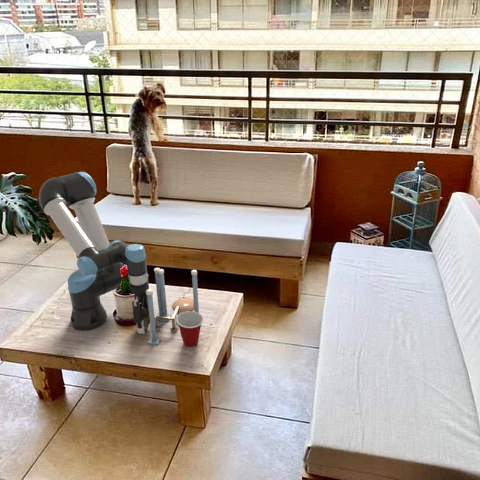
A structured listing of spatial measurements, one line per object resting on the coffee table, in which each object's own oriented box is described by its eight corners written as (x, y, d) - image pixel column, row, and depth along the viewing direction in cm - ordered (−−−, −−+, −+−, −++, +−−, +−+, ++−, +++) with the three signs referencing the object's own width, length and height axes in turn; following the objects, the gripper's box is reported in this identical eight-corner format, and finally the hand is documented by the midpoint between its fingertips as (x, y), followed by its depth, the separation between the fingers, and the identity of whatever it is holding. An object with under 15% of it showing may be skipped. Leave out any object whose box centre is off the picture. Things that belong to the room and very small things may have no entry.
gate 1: (148, 344, 180) (142, 293, 170) (162, 315, 198) (157, 268, 188) (158, 344, 180) (152, 293, 170) (171, 316, 198) (166, 268, 187)
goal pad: (169, 311, 201) (169, 310, 201) (175, 298, 211) (175, 297, 211) (193, 312, 200) (193, 311, 200) (198, 299, 210) (198, 298, 209)
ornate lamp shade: (150, 333, 186) (149, 317, 183) (133, 333, 187) (131, 317, 183) (154, 322, 193) (152, 307, 190) (137, 322, 193) (135, 307, 190)
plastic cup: (201, 352, 175) (199, 327, 170) (174, 349, 177) (172, 325, 172) (207, 335, 185) (206, 311, 180) (182, 333, 187) (180, 309, 182)
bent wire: (152, 331, 188) (151, 318, 185) (160, 315, 198) (158, 303, 196) (176, 332, 187) (175, 320, 184) (183, 316, 197) (182, 304, 194)
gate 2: (200, 322, 194) (197, 273, 183) (156, 319, 196) (150, 271, 185) (202, 316, 197) (199, 269, 187) (158, 313, 199) (153, 266, 189)
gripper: (139, 295, 171) (145, 342, 180) (154, 269, 188) (159, 314, 198) (120, 293, 171) (127, 341, 181) (137, 268, 189) (143, 313, 199)
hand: (144, 327), depth 190 cm, fingers closed on ornate lamp shade, 7 cm apart
